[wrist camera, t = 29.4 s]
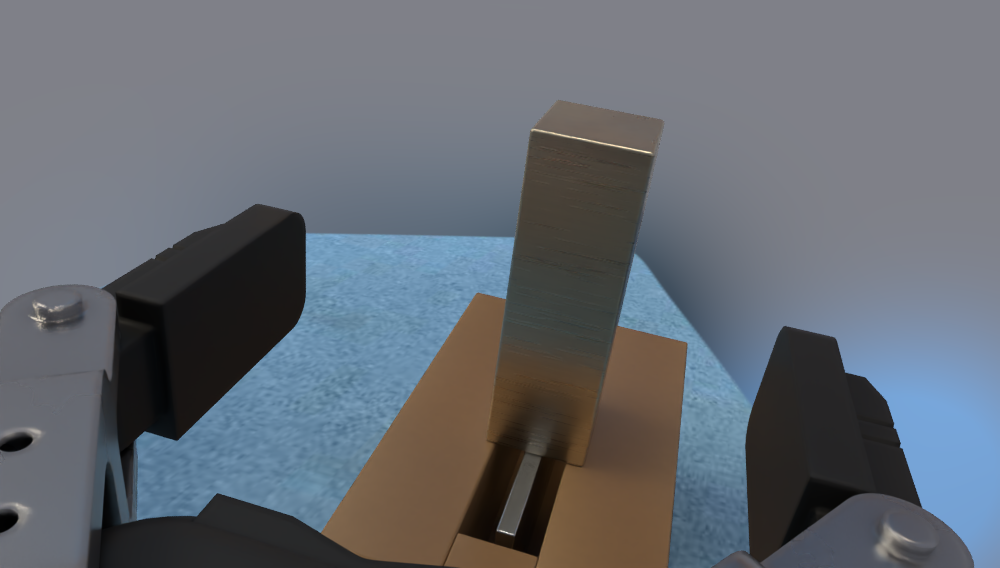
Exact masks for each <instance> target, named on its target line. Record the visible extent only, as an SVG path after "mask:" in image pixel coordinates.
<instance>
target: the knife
mask: <svg viewBox="0 0 1000 568" xmlns="http://www.w3.org/2000/svg"><path fill="white" fill-rule="evenodd" d="M663 127H664V121H663V120H660V119H655V118H650V117H645V116H639V115H634V114H629V113H624V112H619V111H613V110H608V109H603V108H597V107H592V106H587V105H582V104H577V103H571V102H566V101H561V100H558V101H556V102H555V103H554V104H553V105H552V107H551V108H550V109H549V110H548V111H547V112H546V113H545V114H544V116H543V117H542V118H541V119H540V120H539V121H538V122H537V124H536V125H535V126H534V127H533V128H532V129H531V131H530V137H529V144H528V151H527V157H526V164H525V171H524V178H523V186H522V192H521V199H520V206H519V213H518V220H517V227H516V234H515V240H514V247H513V254H512V261H511V268H510V275H509V282H508V289H507V296H506V303H505V310H504V317H503V323H502V330H501V337H500V344H499V351H498V358H497V365H496V372H495V379H494V386H493V393H492V400H491V406H490V413H489V420H488V427H487V434H486V440H487V441H490V442H493V443H497V444H500V445H504V446H508V447H511V448H515V449H518V450H522V451H525V454H524V456H523V459H522V462H521V464H520V467H519V470H518V472H517V475H516V478H515V480H514V483H513V486H512V488H511V491H510V494H509V496H508V499H507V502H506V504H505V507H504V510H503V512H502V515H501V518H500V521H499V523H498V526H497V529H496V532H495V539H494V544H496V545H500V546H503V547H506V548H510V549H513V550H516V551H520V552H523V553H526V554H527V551H528V548H529V544H530V541H531V538H532V535H533V532H534V528H535V525H536V522H537V519H538V516H539V512H540V509H541V506H542V503H543V500H544V496H545V493H546V490H547V487H548V483H549V480H550V477H551V474H552V471H553V467H554V464H555V461H556V460H558V461H561V462H565V463H569V464H572V465H576V466H579V467H582V466H583V465H584V462H585V458H586V455H587V451H588V447H589V443H590V439H591V435H592V431H593V428H594V424H595V420H596V416H597V412H598V408H599V404H600V400H601V396H602V391H603V387H604V383H605V378H606V374H607V370H608V365H609V361H610V357H611V352H612V348H613V344H614V339H615V335H616V331H617V326H618V322H619V318H620V313H621V309H622V305H623V300H624V296H625V292H626V287H627V283H628V279H629V274H630V270H631V266H632V261H633V257H634V253H635V248H636V244H637V239H638V235H639V231H640V226H641V222H642V218H643V214H644V209H645V205H646V201H647V196H648V192H649V188H650V183H651V179H652V175H653V170H654V166H655V161H656V157H657V153H658V149H659V145H660V140H661V136H662V132H663Z"/></svg>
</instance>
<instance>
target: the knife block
mask: <svg viewBox="0 0 1000 568" xmlns="http://www.w3.org/2000/svg"><path fill="white" fill-rule="evenodd" d="M505 303H506V299H502V298H498V297H494V296H490V295H486V294H481V293H476V295H475V296H474V298H473V299H472V301H471V303H470V304H469V306H468V307H467V309H466V310H465V312H464V313H463V315H462V316H461V318H460V319H459V321H458V323H457V324H456V326H455V327H454V329H453V330H452V332H451V333H450V335H449V336H448V338H447V339H446V341H445V343H444V344H443V346H442V347H441V349H440V350H439V352H438V353H437V355H436V356H435V358H434V360H433V361H432V363H431V364H430V366H429V367H428V369H427V370H426V372H425V373H424V375H423V376H422V378H421V380H420V381H419V383H418V384H417V386H416V387H415V389H414V390H413V392H412V393H411V395H410V397H409V398H408V400H407V401H406V403H405V404H404V406H403V407H402V409H401V410H400V412H399V413H398V415H397V417H396V418H395V420H394V421H393V423H392V424H391V426H390V427H389V429H388V430H387V432H386V433H385V435H384V437H383V438H382V440H381V441H380V443H379V444H378V446H377V447H376V449H375V450H374V452H373V454H372V455H371V457H370V458H369V460H368V461H367V463H366V464H365V466H364V467H363V469H362V470H361V472H360V474H359V475H358V477H357V478H356V480H355V481H354V483H353V484H352V486H351V487H350V489H349V491H348V492H347V494H346V495H345V497H344V498H343V500H342V501H341V503H340V504H339V506H338V507H337V509H336V511H335V512H334V514H333V515H332V517H331V518H330V520H329V521H328V523H327V524H326V526H325V528H324V529H323V531H322V532H321V534H323V535H324V536H326V537H328V538H329V539H331V540H333V541H334V542H336V543H338V544H339V545H341V546H343V547H344V548H346V549H348V550H349V551H351V552H353V553H354V554H356V555H358V556H360V557H362V558H366V559H370V560H379V561H391V562H402V563H414V564H426V565H437V566H449V567H459V568H668V563H669V552H670V540H671V529H672V517H673V506H674V494H675V483H676V471H677V460H678V448H679V437H680V425H681V414H682V402H683V391H684V379H685V368H686V356H687V343H686V342H682V341H678V340H674V339H670V338H665V337H661V336H657V335H653V334H649V333H645V332H641V331H636V330H632V329H628V328H624V327H620V326H617V331H616V335H615V339H614V344H613V348H612V352H611V357H610V361H609V365H608V370H607V374H606V378H605V383H604V387H603V391H602V396H601V400H600V404H599V408H598V412H597V416H596V420H595V424H594V428H593V431H592V435H591V439H590V443H589V447H588V451H587V455H586V458H585V462H584V465H583V466H582V467H579V466H576V465H572V464H569V463H565V462H561V461H558V460H556V461H555V464H554V467H553V471H552V474H551V477H550V480H549V483H548V487H547V490H546V493H545V496H544V500H543V503H542V506H541V509H540V512H539V516H538V519H537V522H536V525H535V528H534V532H533V535H532V538H531V541H530V544H529V548H528V551H527V554H526V553H523V552H520V551H516V550H513V549H510V548H506V547H503V546H500V545H496V544H494V539H495V532H496V529H497V526H498V523H499V521H500V518H501V515H502V512H503V510H504V507H505V504H506V502H507V499H508V496H509V494H510V491H511V488H512V486H513V483H514V480H515V478H516V475H517V472H518V470H519V467H520V464H521V462H522V459H523V456H524V454H525V451H522V450H518V449H515V448H511V447H508V446H504V445H500V444H497V443H493V442H490V441H487V440H486V434H487V427H488V420H489V413H490V406H491V400H492V393H493V386H494V379H495V372H496V365H497V358H498V351H499V344H500V337H501V330H502V323H503V317H504V310H505Z"/></svg>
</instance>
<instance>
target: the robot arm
mask: <svg viewBox="0 0 1000 568" xmlns="http://www.w3.org/2000/svg"><path fill="white" fill-rule="evenodd" d="M305 297H306V229H305V222H304V219H303V217H302V215H301V214H299V213H296V212H292V211H288V210H283V209H279V208H275V207H270V206H266V205H262V204H255V205H253V206H252V207H250V208H248V209H247V210H245V211H244V212H242V213H241V214H239V215H237V216H236V217H234V218H233V219H231V220H229V221H228V222H226V223H225V224H221V225H218V226H214V227H211V228H207V229H204V230H201V231H198V232H194V233H192V234H191V235H189V236H187V237H186V238H184V239H183V240H181V241H179V242H178V243H176V244H174V245H173V248H168V249H166V250H164V251H163V252H161V253H160V254H158V255H156V258H155V259H152V258H151V259H150V260H148V261H146V262H145V263H143V264H141V265H140V266H138V267H136V268H135V269H133V270H131V271H130V272H128V273H127V274H125V275H123V276H122V277H120V278H118V279H117V280H115V281H114V282H112V283H110V284H108V285H107V286H105V287H104V288H102V289H100V288H97V287H93V286H86V285H58V286H51V287H46V288H41V289H38V290H34V291H31V292H28V293H25V294H23V295H21V296H18V297H17V298H15V299H13V300H12V301H10V302H9V303H8V304H6V305H5V306H4V308H3V309H2V310H1V312H0V568H459V567H449V566H437V565H426V564H414V563H402V562H391V561H379V560H370V559H366V558H362V557H360V556H358V555H356V554H354V553H353V552H351V551H349V550H348V549H346V548H344V547H343V546H341V545H339V544H338V543H336V542H334V541H333V540H331V539H329V538H328V537H326V536H324V535H323V534H321V533H319V532H318V531H316V530H314V529H313V528H311V527H310V526H308V525H306V524H305V523H303V522H301V521H300V520H298V519H296V518H295V517H293V516H290V515H287V514H283V513H280V512H277V511H274V510H270V509H267V508H264V507H261V506H257V505H254V504H251V503H248V502H244V501H241V500H238V499H235V498H231V497H228V496H225V495H222V494H218V493H217V494H216V495H215V496H214V497H213V499H212V500H211V501H210V502H209V503H208V504H207V505H206V507H205V508H204V509H203V510H202V511H201V512H200V513H199V515H198V516H197V517H196V516H167V517H158V518H149V519H143V520H138V521H137V467H138V455H137V448H136V441H135V440H136V439H137V438H138V437H139V436H140V435H141V434H142V433H143V432H144V431H146V432H149V433H152V434H156V435H159V436H162V437H166V438H169V439H173V440H176V441H178V440H179V439H180V438H181V437H182V436H183V435H184V434H185V433H186V432H187V431H188V430H189V429H190V428H191V427H192V426H193V425H194V424H195V423H196V422H197V421H198V420H199V419H200V418H201V417H202V416H203V415H204V414H205V413H206V412H207V411H208V410H209V409H210V408H212V407H213V406H214V405H215V404H216V403H217V402H218V401H219V400H220V399H221V398H222V397H223V396H224V395H225V394H226V393H227V392H228V391H229V390H230V389H231V388H232V387H233V386H234V385H235V384H236V383H237V382H238V381H239V380H240V379H241V378H242V377H243V376H244V375H246V374H247V373H248V372H249V371H250V370H251V369H252V368H253V367H254V366H255V365H256V364H257V363H258V362H259V361H260V360H261V359H262V358H263V357H264V356H265V355H266V354H267V353H268V352H269V351H270V350H271V349H272V348H273V347H274V346H275V345H276V344H277V343H278V342H280V341H281V340H282V339H283V338H284V337H285V336H286V335H287V334H288V333H289V332H290V331H291V330H292V329H293V328H294V327H295V325H296V324H297V322H298V320H299V318H300V316H301V314H302V311H303V308H304V303H305ZM893 427H894V422H893V419H892V416H891V413H890V410H889V407H888V404H887V401H886V400H885V399H884V398H883V397H882V395H881V394H880V393H879V392H878V391H877V390H876V389H875V388H874V387H873V386H872V384H871V383H870V382H869V381H868V380H867V379H866V378H865V377H861V376H857V375H853V374H848V373H845V370H844V367H843V363H842V359H841V355H840V352H839V348H838V344H837V341H836V339H835V338H834V337H830V336H826V335H822V334H817V333H813V332H809V331H804V330H800V329H796V328H791V327H787V326H784V327H783V328H782V330H781V331H780V333H779V335H778V337H777V340H776V342H775V345H774V348H773V351H772V353H771V356H770V359H769V362H768V365H767V368H766V370H765V373H764V376H763V379H762V382H761V385H760V388H759V390H758V393H757V396H756V399H755V402H754V404H753V407H752V411H751V414H750V418H749V422H748V427H747V434H746V444H745V449H746V474H747V498H748V522H749V546H750V554H749V553H747V552H746V551H737V552H735V553H733V554H731V555H729V556H728V557H726V558H724V559H723V560H722V561H720V562H719V563H717V564H716V565H714V566H713V567H711V568H974V562H973V559H972V556H971V554H970V552H969V550H968V548H967V547H966V545H965V544H964V542H963V541H962V540H961V539H960V537H959V536H958V535H957V534H956V533H955V532H954V531H953V530H952V529H951V528H950V527H949V526H947V525H946V524H945V523H944V522H943V521H941V520H940V519H938V518H937V517H936V516H934V515H933V514H931V513H930V512H928V511H926V510H924V509H923V508H922V506H921V503H920V500H919V497H918V494H917V491H916V488H915V485H914V482H913V479H912V476H911V473H910V470H909V467H908V464H907V461H906V458H905V455H904V452H903V449H902V448H900V444H901V443H900V440H899V437H898V434H897V431H896V429H894V428H893Z"/></svg>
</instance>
